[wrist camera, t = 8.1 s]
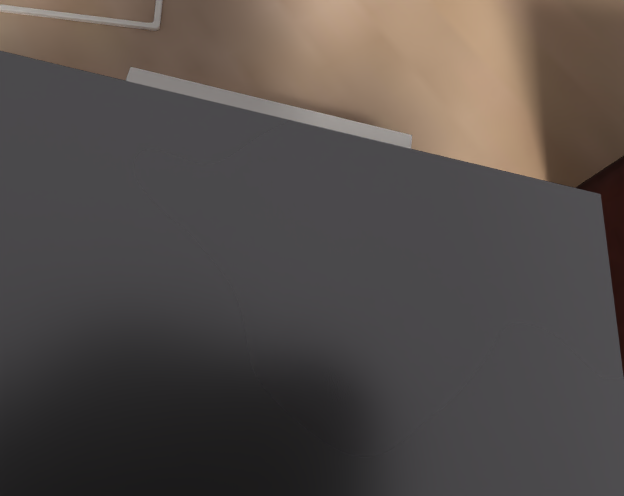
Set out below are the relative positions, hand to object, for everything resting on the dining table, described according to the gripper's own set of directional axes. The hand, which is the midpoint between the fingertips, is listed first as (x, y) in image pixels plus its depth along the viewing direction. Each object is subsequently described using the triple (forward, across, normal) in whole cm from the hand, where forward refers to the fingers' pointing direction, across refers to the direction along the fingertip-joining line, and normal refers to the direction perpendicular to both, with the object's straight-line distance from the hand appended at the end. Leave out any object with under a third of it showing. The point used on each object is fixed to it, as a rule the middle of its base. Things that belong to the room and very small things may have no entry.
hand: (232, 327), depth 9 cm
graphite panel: (+4, 0, +6) cm, 7 cm away
